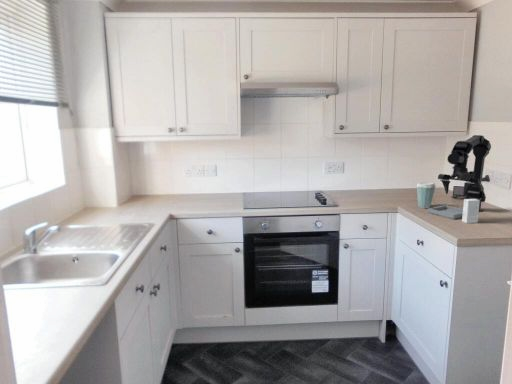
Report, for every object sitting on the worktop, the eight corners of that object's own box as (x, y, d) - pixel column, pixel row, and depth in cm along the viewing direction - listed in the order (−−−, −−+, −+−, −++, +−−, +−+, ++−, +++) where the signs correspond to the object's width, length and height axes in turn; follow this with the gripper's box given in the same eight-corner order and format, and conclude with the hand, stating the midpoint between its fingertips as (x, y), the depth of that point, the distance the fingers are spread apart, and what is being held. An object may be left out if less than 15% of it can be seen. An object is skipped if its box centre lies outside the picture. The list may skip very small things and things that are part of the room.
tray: (445, 209, 219) (445, 205, 218) (471, 215, 205) (472, 211, 204) (427, 212, 212) (427, 208, 211) (453, 219, 198) (453, 214, 197)
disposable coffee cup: (414, 208, 222) (416, 183, 219) (414, 204, 232) (416, 180, 229) (433, 209, 218) (436, 184, 215) (433, 205, 227) (435, 181, 224)
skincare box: (472, 220, 195) (475, 198, 193) (477, 222, 191) (480, 200, 189) (461, 220, 195) (463, 198, 193) (466, 223, 191) (468, 200, 188)
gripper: (449, 163, 185) (444, 194, 187) (487, 167, 185) (482, 198, 186) (439, 163, 196) (435, 192, 198) (475, 167, 196) (470, 196, 197)
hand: (455, 194), depth 195 cm, fingers open, 9 cm apart
